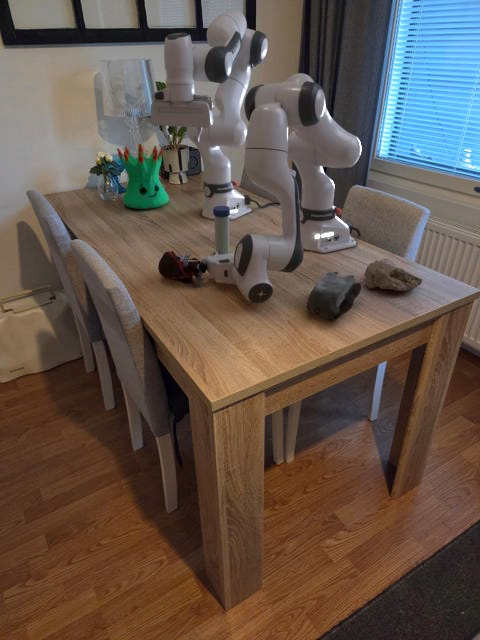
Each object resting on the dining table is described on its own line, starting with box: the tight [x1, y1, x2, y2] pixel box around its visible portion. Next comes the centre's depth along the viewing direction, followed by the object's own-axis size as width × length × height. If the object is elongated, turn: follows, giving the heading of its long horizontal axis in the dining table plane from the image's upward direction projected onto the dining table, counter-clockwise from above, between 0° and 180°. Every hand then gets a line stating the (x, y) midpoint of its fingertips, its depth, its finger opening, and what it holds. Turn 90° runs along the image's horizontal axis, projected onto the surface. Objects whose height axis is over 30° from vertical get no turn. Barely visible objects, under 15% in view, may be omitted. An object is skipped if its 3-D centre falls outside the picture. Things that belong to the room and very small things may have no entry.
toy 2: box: [157, 250, 207, 286], centre depth 136 cm, size 12×9×15 cm
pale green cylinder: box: [214, 216, 230, 254], centre depth 151 cm, size 5×5×16 cm
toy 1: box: [116, 142, 170, 210], centre depth 197 cm, size 20×20×25 cm
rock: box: [305, 271, 362, 321], centre depth 121 cm, size 18×11×8 cm, turn 152°
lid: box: [213, 206, 230, 217], centre depth 148 cm, size 6×6×2 cm
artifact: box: [364, 258, 423, 292], centre depth 135 cm, size 18×7×15 cm
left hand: (183, 141), depth 146 cm, fingers open, 8 cm apart
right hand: (231, 251), depth 143 cm, fingers open, 8 cm apart
